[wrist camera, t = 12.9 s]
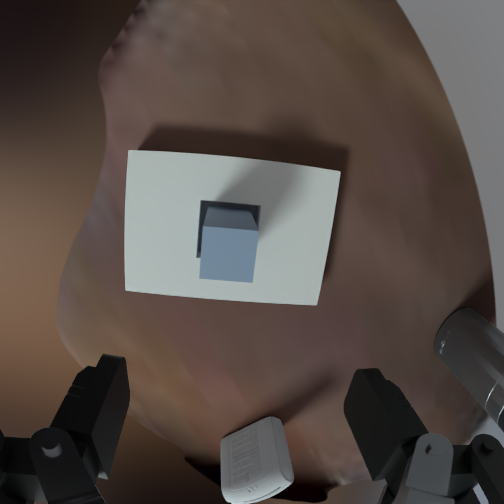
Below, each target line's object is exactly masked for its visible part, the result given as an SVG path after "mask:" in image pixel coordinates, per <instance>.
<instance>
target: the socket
mask: <svg viewBox="0 0 504 504" xmlns="http://www.w3.org/2000/svg"><path fill="white" fill-rule="evenodd" d="M340 173H341V172H340V171H335V170H330V169H324V168H318V167H311V166H304V165H298V164H290V163H283V162H275V161H267V160H259V159H250V158H241V157H231V156H221V155H209V154H197V153H183V152H166V151H145V150H129V151H128V164H127V179H126V199H125V289H126V291H134V292H144V293H153V294H163V295H174V296H184V297H196V298H208V299H220V300H233V301H248V302H263V303H280V304H299V305H317V302H318V298H319V293H320V288H321V283H322V278H323V273H324V268H325V263H326V258H327V252H328V247H329V241H330V236H331V230H332V224H333V218H334V212H335V206H336V200H337V194H338V187H339V180H340ZM209 205H210V206H221V207H232V208H243V209H250V212H251V214H252V216H253V218H254V221H255V223H256V225H257V227H258V230H259V236H258V244H257V252H256V260H255V268H254V276H253V283H249V282H235V281H223V280H210V279H199V274H200V259H201V245H202V232H203V224H204V220H205V217H206V213H207V210H208V206H209Z"/></svg>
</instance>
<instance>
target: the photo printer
mask: <svg viewBox="0 0 504 504" xmlns="http://www.w3.org/2000/svg"><path fill="white" fill-rule="evenodd" d="M293 480H294V475H293V470H292V465H291V460H290V455H289V450H288V445H287V441H286V436H285V431H284V428H283V426H282V422H281V420H280V419H278V418H276V417H266V418H264V419H261V420H259V421H257V422H255V423H253V424H251V425H249V426H247V427H245V428H243V429H241V430H239V431H237V432H235V433H232V434H230V435H228V436H227V437H225V438H223V439H222V440H221V488H222V493H223V496H224V498H225V499H226V501H227V502H231V503H232V504H249V503H254V502H258V501H261V500H264V499H266V498H269V497H271V496H273V495H275V494H277V493H279V492H281V491H282V490H284V489H285V488H287V487H288V486H289V485H290V484H291V483H292V482H293Z"/></svg>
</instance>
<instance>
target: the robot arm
mask: <svg viewBox="0 0 504 504" xmlns="http://www.w3.org/2000/svg"><path fill="white" fill-rule="evenodd" d="M434 349H435V353H436V355H437V356H438V357H439V358H440V359H441V360H442V361H443V363H444V364H445V365H446V366H447V367H448V368H449V369H450V371H451V372H452V373H453V374H454V375H455V376H456V377H457V378H458V379H459V381H460V382H461V383H462V384H463V385H464V386H465V387H466V388H467V390H468V391H469V392H470V393H471V394H472V395H473V397H474V398H475V399H476V400H477V401H478V402H479V403H480V405H481V406H482V407H483V408H484V409H485V411H486V412H487V413H488V414H489V415H490V416H491V418H492V419H493V420H494V421H495V422H496V424H497V425H498V426H499V427H500V428H501V429H502V430H503V432H504V333H503V332H501V331H500V330H499V329H498V328H497V327H495V326H494V325H493V324H492V323H490V322H489V321H488V320H487V319H485V318H484V317H483V316H481V315H480V314H479V313H477V312H476V311H475V310H473V309H472V308H462V309H460V310H458V311H456V312H455V313H453V314H452V315H451V316H450V317H449V318H448V319H447V320H446V321H445V322H444V323H443V325H442V326H441V328H440V330H439V332H438V334H437V336H436V339H435V344H434ZM129 401H130V389H129V382H128V374H127V366H126V360H125V358H124V357H120V356H113V355H107V354H103V355H102V356H101V358H100V360H99V362H98V364H97V366H96V367H92V366H87V367H86V368H84V369H83V370H82V371H81V372H79V373H78V374H77V376H76V377H75V379H74V381H73V383H72V386H71V387H70V388H69V390H68V392H67V395H66V396H65V398H64V400H63V402H62V404H61V405H60V408H59V409H58V411H57V413H56V415H55V417H54V419H53V421H52V423H51V425H50V427H46V428H42V429H40V430H38V431H36V432H35V433H34V434H33V435H32V436H31V437H30V438H16V437H5V436H4V435H3V433H2V432H1V430H0V504H34V501H35V500H36V501H47V502H48V504H106V503H105V501H104V499H103V498H102V496H101V494H100V493H99V491H98V490H97V488H96V486H95V485H96V481H97V478H98V477H100V478H104V479H108V478H109V474H110V470H111V466H112V463H113V458H114V455H115V452H116V448H117V444H118V441H119V437H120V434H121V431H122V427H123V424H124V420H125V417H126V414H127V410H128V407H129ZM344 414H345V417H346V419H347V421H348V424H349V426H350V428H351V431H352V433H353V435H354V438H355V440H356V442H357V445H358V447H359V449H360V452H361V454H362V456H363V459H364V461H365V464H366V466H367V468H368V471H369V473H370V475H371V478H372V480H373V481H377V480H382V479H385V480H386V482H387V484H386V485H385V487H384V489H383V491H382V494H381V496H380V499H379V501H378V504H480V502H479V500H478V498H477V496H476V494H475V493H474V490H473V488H474V487H475V486H476V485H477V484H478V483H479V485H480V487H481V488H482V490H483V492H484V494H485V496H486V498H487V499H488V502H489V504H504V448H503V447H502V445H501V444H500V442H499V441H498V440H497V439H496V438H494V437H493V436H491V435H488V434H479V435H477V436H475V437H474V439H473V440H472V441H471V443H470V444H469V445H451V443H450V442H449V441H448V440H447V439H446V438H445V437H443V436H441V435H439V434H434V433H429V432H428V431H427V429H426V427H425V426H424V424H423V423H422V421H421V420H420V418H419V417H418V415H417V414H416V412H415V411H414V409H413V408H412V407H411V405H410V403H409V402H408V400H407V399H406V397H405V396H404V394H403V393H402V391H401V390H400V388H399V387H397V386H396V385H395V384H394V383H392V382H391V381H390V380H386V379H385V378H384V376H383V375H382V373H381V372H380V370H379V369H378V368H368V369H358V370H356V372H355V373H354V376H353V379H352V382H351V384H350V387H349V390H348V392H347V395H346V398H345V401H344Z"/></svg>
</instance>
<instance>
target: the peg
mask: <svg viewBox="0 0 504 504" xmlns="http://www.w3.org/2000/svg"><path fill="white" fill-rule="evenodd" d="M258 236H259V230H258V227H257V225H256V223H255V221H254V218H253V216H252V214H251V212H250V209H243V208H232V207H221V206H210V205H209V206H208V210H207V213H206V217H205V220H204V224H203V232H202V245H201V259H200V274H199V279H210V280H223V281H235V282H249V283H253V276H254V268H255V260H256V252H257V244H258Z"/></svg>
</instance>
